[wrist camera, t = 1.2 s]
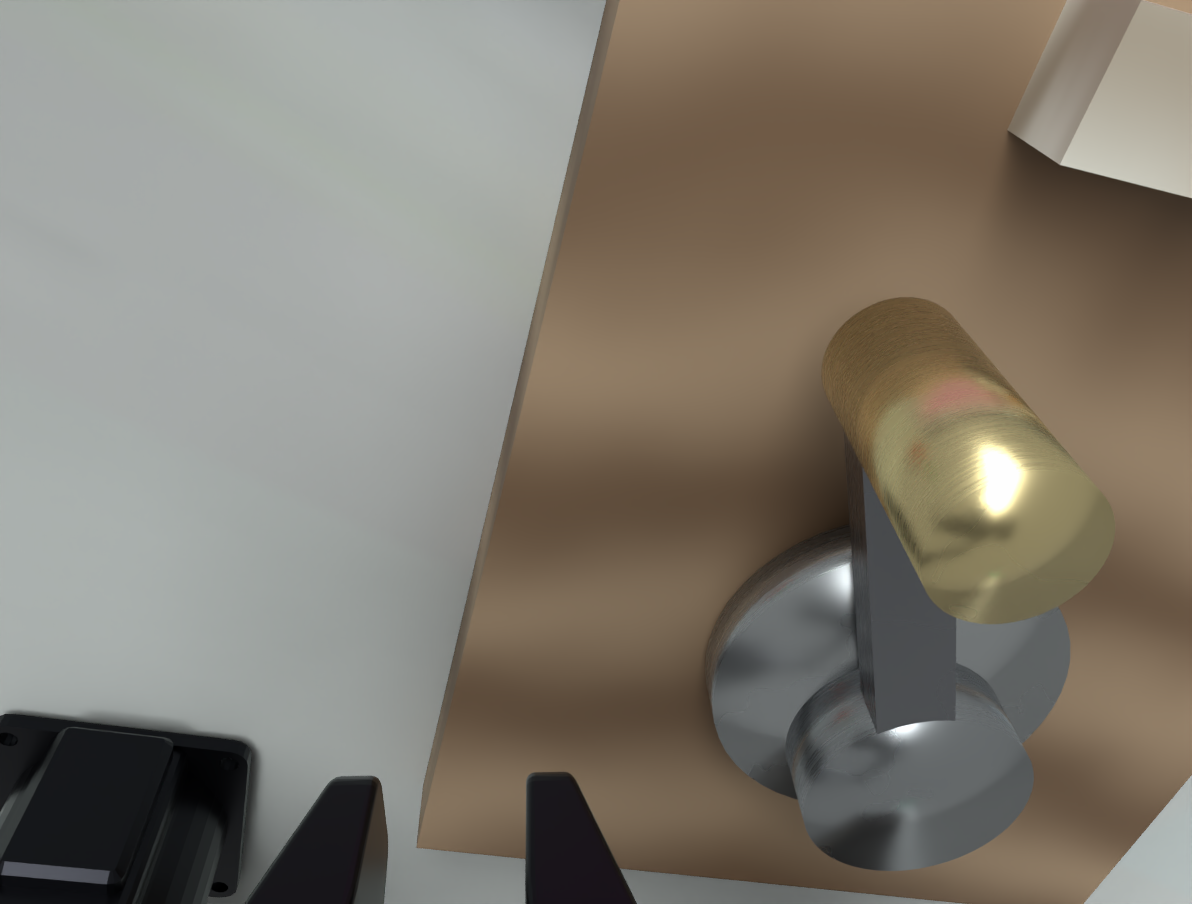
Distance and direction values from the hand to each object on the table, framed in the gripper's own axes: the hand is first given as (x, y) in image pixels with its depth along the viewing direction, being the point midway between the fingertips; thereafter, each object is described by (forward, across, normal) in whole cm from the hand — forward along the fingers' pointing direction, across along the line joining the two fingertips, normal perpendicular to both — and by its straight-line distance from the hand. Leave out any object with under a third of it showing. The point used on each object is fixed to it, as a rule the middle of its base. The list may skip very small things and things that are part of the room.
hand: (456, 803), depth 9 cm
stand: (+13, -10, +6) cm, 18 cm away
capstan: (+11, -8, +6) cm, 15 cm away
